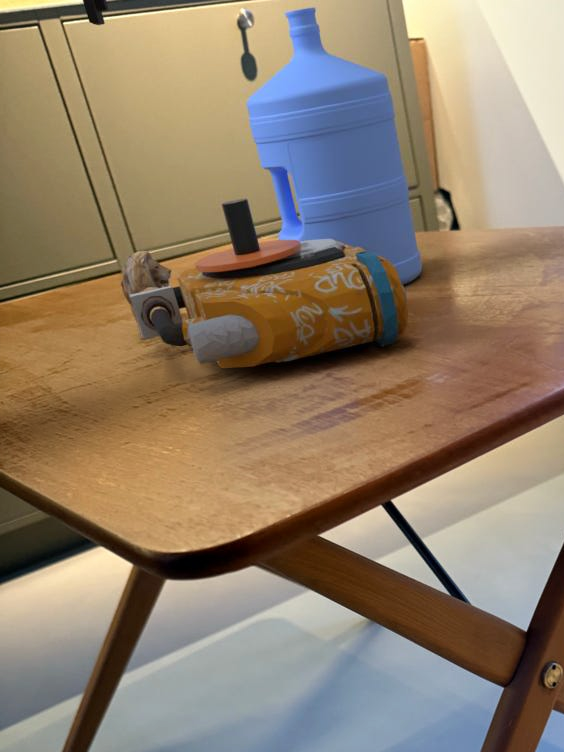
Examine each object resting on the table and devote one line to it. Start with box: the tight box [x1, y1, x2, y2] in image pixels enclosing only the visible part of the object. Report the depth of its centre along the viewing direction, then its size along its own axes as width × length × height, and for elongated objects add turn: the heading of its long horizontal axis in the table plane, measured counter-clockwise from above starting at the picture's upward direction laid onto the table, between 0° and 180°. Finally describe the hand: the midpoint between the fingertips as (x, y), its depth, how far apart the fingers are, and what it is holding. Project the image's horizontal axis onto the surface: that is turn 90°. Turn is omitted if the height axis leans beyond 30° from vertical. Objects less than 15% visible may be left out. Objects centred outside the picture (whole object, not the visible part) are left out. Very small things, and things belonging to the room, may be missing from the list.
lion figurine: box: [120, 250, 172, 340], centre depth 117 cm, size 15×5×9 cm, turn 24°
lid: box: [194, 198, 301, 272], centre depth 97 cm, size 10×10×5 cm
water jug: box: [246, 6, 423, 286], centre depth 115 cm, size 16×16×28 cm
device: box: [130, 239, 409, 369], centre depth 100 cm, size 23×8×30 cm
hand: (35, 35), depth 81 cm, fingers open, 9 cm apart
